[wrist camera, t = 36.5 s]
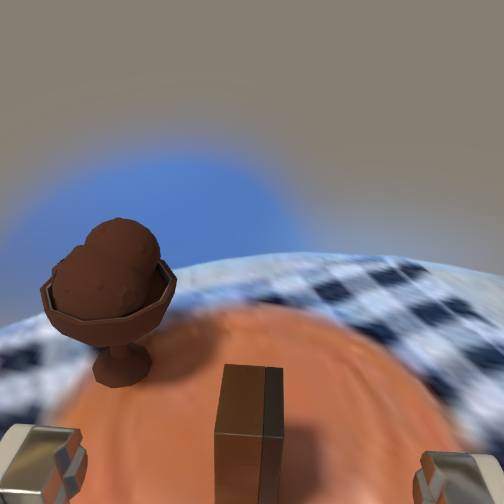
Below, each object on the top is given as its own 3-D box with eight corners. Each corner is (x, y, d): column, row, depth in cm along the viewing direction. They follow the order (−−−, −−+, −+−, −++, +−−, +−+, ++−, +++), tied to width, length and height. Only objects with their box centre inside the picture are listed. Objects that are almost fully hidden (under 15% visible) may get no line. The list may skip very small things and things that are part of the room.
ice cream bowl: (114, 317, 47) (94, 189, 39) (202, 349, 43) (198, 214, 35) (34, 383, 38) (-10, 235, 31) (134, 430, 34) (111, 274, 27)
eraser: (274, 451, 33) (283, 367, 29) (274, 525, 28) (284, 438, 24) (224, 447, 33) (224, 363, 29) (214, 520, 29) (214, 432, 24)
